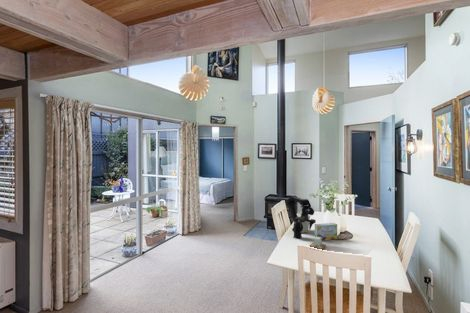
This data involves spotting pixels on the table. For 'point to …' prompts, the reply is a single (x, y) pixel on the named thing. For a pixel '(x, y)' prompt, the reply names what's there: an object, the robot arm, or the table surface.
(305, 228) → the canister
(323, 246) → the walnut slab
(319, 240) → the sage box
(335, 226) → the snack box
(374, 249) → the table surface
